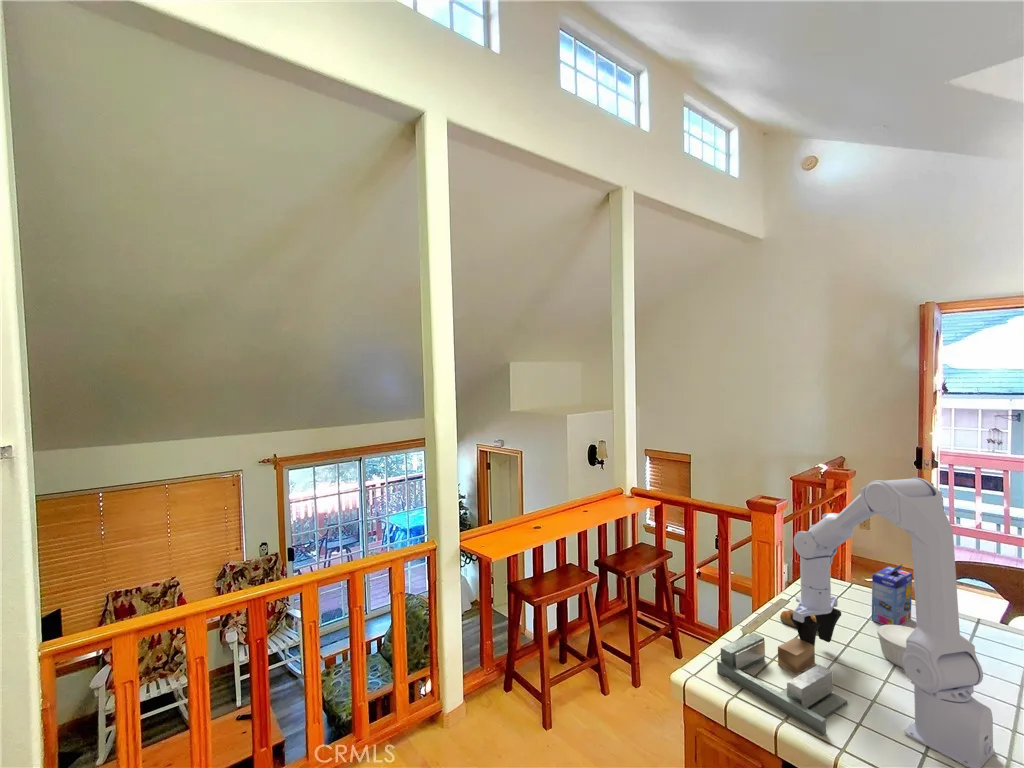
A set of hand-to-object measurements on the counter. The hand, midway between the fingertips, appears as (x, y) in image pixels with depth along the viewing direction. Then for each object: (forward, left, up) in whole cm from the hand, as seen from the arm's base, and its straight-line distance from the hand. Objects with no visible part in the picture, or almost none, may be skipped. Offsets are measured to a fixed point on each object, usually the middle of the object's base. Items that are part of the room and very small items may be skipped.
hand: (816, 644), depth 107 cm
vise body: (-4, +18, -2) cm, 18 cm away
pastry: (+8, -11, -2) cm, 14 cm away
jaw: (-8, +18, -1) cm, 19 cm away
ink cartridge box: (-2, -31, -2) cm, 31 cm away
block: (0, +8, -2) cm, 8 cm away
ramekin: (-12, -14, -2) cm, 19 cm away
